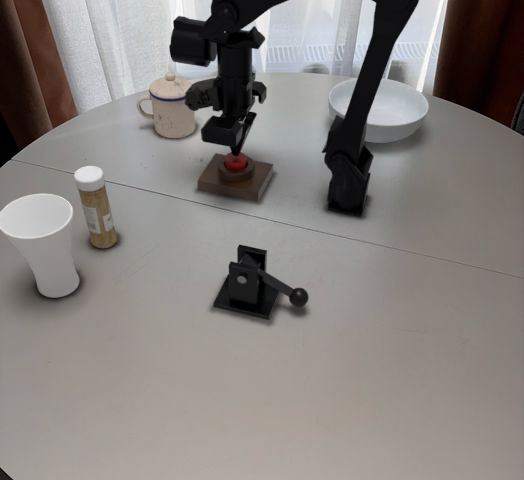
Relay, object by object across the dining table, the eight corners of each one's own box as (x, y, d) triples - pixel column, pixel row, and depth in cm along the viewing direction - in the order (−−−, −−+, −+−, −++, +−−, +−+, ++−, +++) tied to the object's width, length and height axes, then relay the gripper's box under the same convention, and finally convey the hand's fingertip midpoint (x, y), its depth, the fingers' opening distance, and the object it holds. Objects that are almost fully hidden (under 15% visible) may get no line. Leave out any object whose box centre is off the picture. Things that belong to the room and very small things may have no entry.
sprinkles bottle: (122, 243, 100) (107, 175, 90) (97, 252, 98) (80, 184, 88) (111, 229, 102) (96, 161, 92) (86, 237, 101) (68, 170, 90)
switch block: (273, 173, 115) (273, 155, 111) (258, 202, 108) (258, 184, 105) (215, 162, 117) (215, 144, 113) (198, 190, 110) (196, 172, 107)
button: (249, 161, 111) (249, 153, 109) (242, 173, 108) (242, 164, 107) (229, 158, 111) (229, 149, 110) (222, 169, 109) (222, 160, 107)
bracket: (281, 291, 93) (283, 249, 86) (268, 321, 89) (270, 279, 82) (228, 279, 95) (226, 236, 88) (213, 308, 90) (211, 266, 84)
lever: (304, 301, 90) (314, 290, 88) (299, 314, 89) (309, 303, 86) (239, 261, 88) (247, 249, 86) (232, 274, 86) (240, 262, 84)
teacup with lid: (196, 117, 128) (192, 63, 119) (196, 139, 122) (192, 84, 113) (141, 118, 127) (133, 64, 118) (139, 140, 121) (130, 85, 112)
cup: (20, 271, 95) (-8, 202, 84) (84, 255, 98) (65, 187, 87) (30, 314, 89) (2, 245, 78) (98, 296, 92) (80, 227, 81)
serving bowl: (429, 157, 119) (437, 126, 114) (327, 154, 119) (331, 123, 114) (413, 107, 133) (420, 77, 128) (322, 104, 133) (325, 74, 127)
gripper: (208, 40, 103) (212, 123, 115) (167, 87, 92) (176, 174, 104) (268, 50, 101) (266, 133, 113) (234, 99, 90) (235, 185, 102)
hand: (236, 155), depth 108 cm, fingers closed
